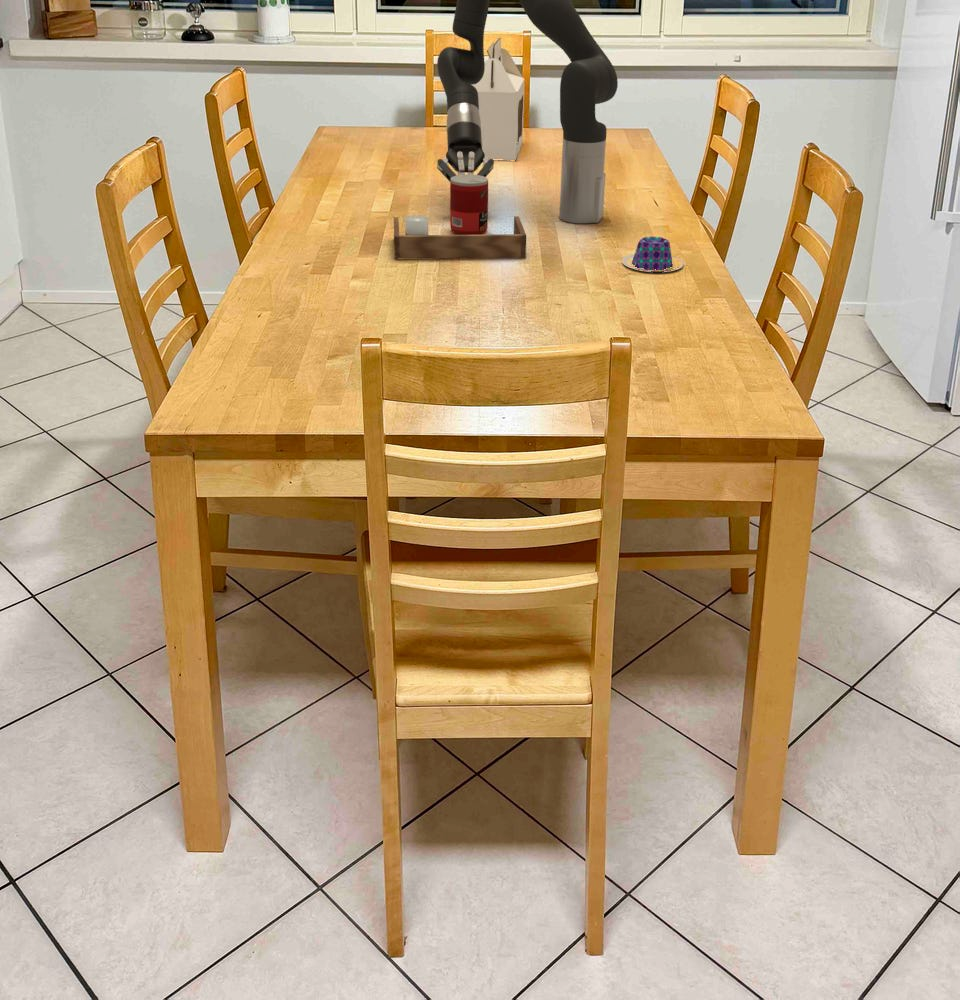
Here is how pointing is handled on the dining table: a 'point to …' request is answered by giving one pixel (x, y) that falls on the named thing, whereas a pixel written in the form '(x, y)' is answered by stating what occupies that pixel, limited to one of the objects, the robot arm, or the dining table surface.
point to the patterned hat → (652, 255)
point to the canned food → (469, 204)
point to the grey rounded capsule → (416, 225)
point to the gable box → (501, 105)
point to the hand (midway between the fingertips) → (467, 200)
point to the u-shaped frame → (461, 244)
